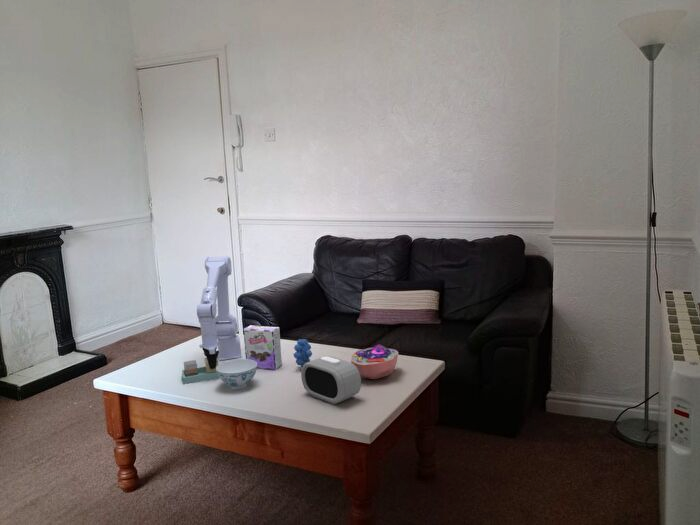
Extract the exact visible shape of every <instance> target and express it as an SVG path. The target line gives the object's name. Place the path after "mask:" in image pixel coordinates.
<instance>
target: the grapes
mask: <svg viewBox="0 0 700 525" xmlns="http://www.w3.org/2000/svg"><path fill="white" fill-rule="evenodd" d="M293 349H294V350H295V352H294V353H293V358H295V359H296V360H295V363H296V364H297V366H300V367H301V368H302V367H303V365H304V364H305V363H307V362H310V361H311V359H310V358H311V357H312V355H313V352H312V350H311V349H312V345H311V344H310V343H309V341H308V340H307V339H306V338H299V339H298V340H297V342H296V344H295V345H294V347H293Z"/></svg>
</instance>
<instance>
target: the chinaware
mask: <svg viewBox="0 0 700 525" xmlns="http://www.w3.org/2000/svg"><path fill="white" fill-rule="evenodd" d="M218 364H219V365H218V366H217V367H216V371H217V374H218V376H219V378H218V379H220V380H221V381H222V382H223V383H224V384H226V385H227V386H228V387H229V388H230V389H232V390H237V389H243V388H246V387H247V386H248V383H250V382H251V381H252V379H253V378H254V377H255V375H256V371H257V369H258V368H257V362H256V361H254V360H250V359H246V358H240V359H238V358H235V359H229V360H227V361H223V362H221V363H218Z"/></svg>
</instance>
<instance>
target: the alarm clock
mask: <svg viewBox="0 0 700 525" xmlns="http://www.w3.org/2000/svg"><path fill="white" fill-rule="evenodd" d="M300 374H301V376H300V377H301V382H302V385H303V388H304V389H305V390H306V392H307V393H308V394H309V395H311V396H312V397H314V398H316V399H319V400H322V401H325V402H328V403H330V404H332V405H337V404H339V403H341V402H343V401H347V399H348V400H349V399H350V398H351V397H354V396H355V395H357V394H358V393H360V391H361V388H362V377H361V376H360V373H359V371H358V369H357V367H356V366H355V365H354V364H352V363H351V361H348V360H345V359H341V358H337V357H335V356H334V357H333V356H330V355H324V356H322V357H318V358H315V359H313V360H310V362H307V363H305V364H304V365H303V367H301V373H300Z"/></svg>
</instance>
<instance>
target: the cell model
mask: <svg viewBox="0 0 700 525" xmlns="http://www.w3.org/2000/svg"><path fill="white" fill-rule="evenodd" d="M398 356H399V351H398V350H397V349H395V348H394V349H393V348H387V347H385V346H383V345H381V344H376V345H374V346H373V347H367V348H363V349H360V350H357V351H355V352H354V353H353V354H352V355H351V359H350V363H352V364H354V365H355V366H356V367H357V369H358V371H359V373H360V377H361V378H364V379H371V380H378V379H380V378H385V377H387V376H389V375H391V374H392V373H393V371H394V370H395V368H396V366H397V364H398V363H397V361H398Z"/></svg>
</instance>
